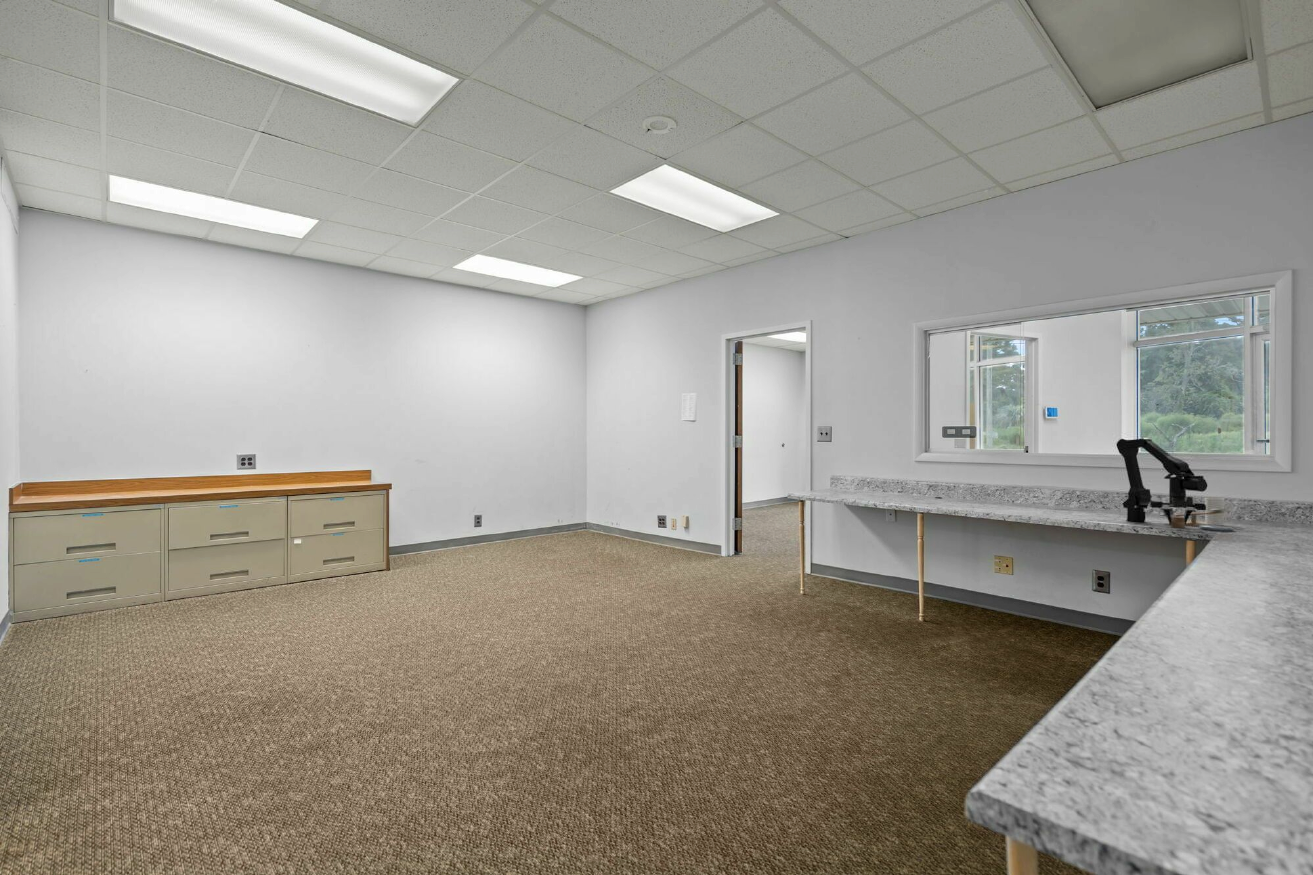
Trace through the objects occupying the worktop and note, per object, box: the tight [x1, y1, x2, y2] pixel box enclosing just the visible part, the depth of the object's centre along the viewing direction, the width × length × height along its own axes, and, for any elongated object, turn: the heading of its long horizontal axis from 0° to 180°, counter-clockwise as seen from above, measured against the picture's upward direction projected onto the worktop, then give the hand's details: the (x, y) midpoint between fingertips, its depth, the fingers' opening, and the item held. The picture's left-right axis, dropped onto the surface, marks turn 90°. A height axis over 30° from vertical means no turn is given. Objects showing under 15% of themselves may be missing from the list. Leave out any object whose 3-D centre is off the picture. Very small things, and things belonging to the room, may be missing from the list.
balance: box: [1159, 507, 1230, 527], centre depth 286 cm, size 24×6×8 cm, turn 57°
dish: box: [1199, 524, 1235, 532], centre depth 273 cm, size 11×11×1 cm
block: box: [1169, 516, 1186, 529], centre depth 281 cm, size 4×4×4 cm
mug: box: [1204, 497, 1235, 526], centre depth 287 cm, size 10×7×12 cm, turn 54°
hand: (1177, 524), depth 281 cm, fingers closed on block, 4 cm apart
